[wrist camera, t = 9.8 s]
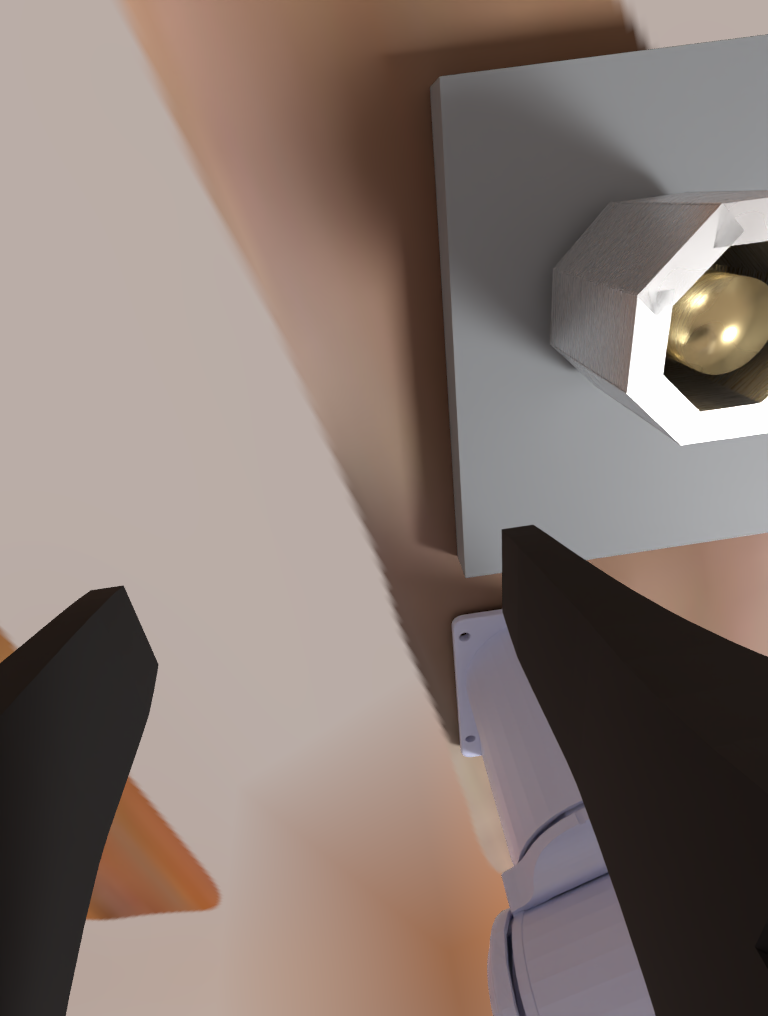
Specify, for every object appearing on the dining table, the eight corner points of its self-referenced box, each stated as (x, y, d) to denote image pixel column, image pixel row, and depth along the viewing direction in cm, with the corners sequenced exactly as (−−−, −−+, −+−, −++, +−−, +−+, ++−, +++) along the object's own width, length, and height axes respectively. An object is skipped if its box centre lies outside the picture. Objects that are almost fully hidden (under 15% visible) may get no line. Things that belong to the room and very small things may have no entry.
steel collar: (705, 369, 18) (827, 424, 14) (547, 392, 18) (619, 454, 13) (738, 184, 15) (902, 178, 11) (554, 209, 15) (645, 213, 11)
